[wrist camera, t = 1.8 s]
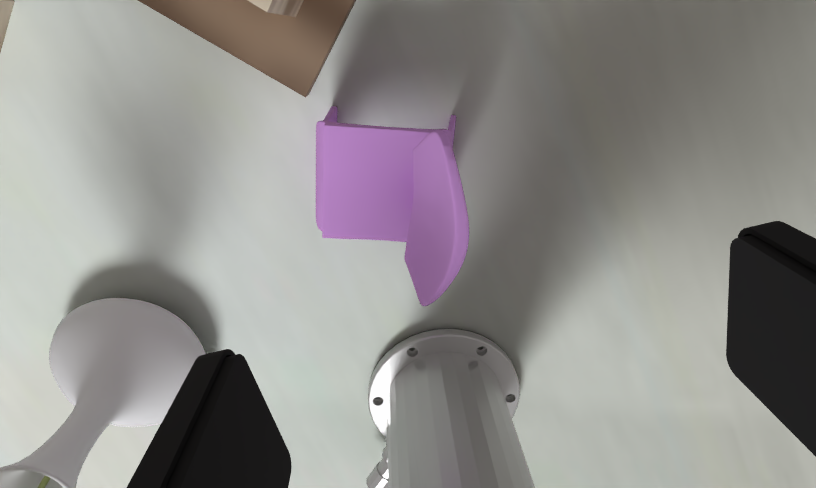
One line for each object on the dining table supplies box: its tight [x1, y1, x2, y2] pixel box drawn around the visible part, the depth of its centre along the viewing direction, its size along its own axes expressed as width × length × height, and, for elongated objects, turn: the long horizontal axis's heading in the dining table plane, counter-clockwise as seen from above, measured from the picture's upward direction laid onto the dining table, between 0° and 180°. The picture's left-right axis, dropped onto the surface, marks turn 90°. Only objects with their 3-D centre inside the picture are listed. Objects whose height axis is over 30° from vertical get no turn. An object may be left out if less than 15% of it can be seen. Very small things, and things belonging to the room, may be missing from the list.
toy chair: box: [316, 106, 469, 306], centre depth 27 cm, size 8×9×15 cm
